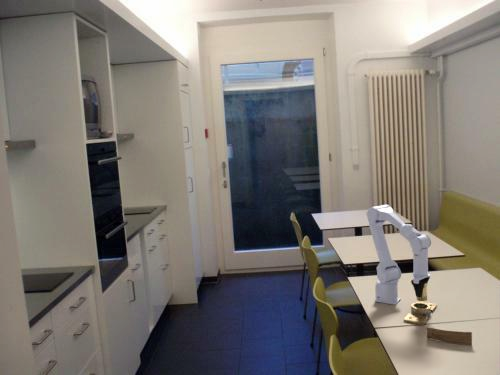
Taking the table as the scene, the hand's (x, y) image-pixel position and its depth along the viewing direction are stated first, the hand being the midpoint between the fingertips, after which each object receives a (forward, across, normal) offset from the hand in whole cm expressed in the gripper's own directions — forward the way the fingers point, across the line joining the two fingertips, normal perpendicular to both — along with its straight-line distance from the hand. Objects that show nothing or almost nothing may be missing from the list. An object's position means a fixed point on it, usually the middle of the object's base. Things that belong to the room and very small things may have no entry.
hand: (420, 294), depth 199 cm
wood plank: (+9, -21, -16) cm, 27 cm away
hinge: (+8, 0, 0) cm, 8 cm away
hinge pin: (+2, 0, 0) cm, 2 cm away
